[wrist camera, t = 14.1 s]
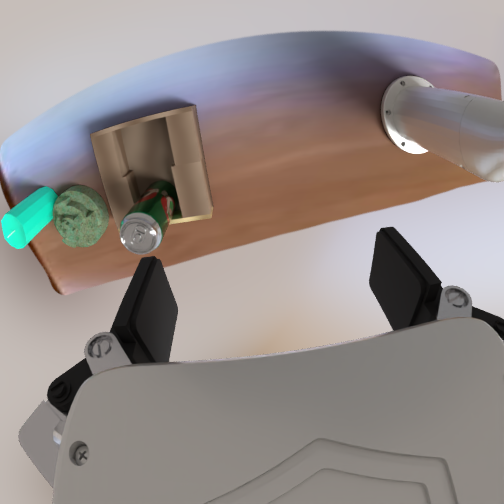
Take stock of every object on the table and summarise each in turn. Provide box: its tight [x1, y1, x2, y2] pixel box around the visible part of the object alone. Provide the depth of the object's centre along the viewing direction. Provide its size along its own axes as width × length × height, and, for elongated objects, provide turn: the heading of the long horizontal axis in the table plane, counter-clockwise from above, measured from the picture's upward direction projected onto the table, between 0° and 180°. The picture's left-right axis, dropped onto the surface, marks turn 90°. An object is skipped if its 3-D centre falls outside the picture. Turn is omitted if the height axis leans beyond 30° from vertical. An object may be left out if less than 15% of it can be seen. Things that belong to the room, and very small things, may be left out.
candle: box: [1, 186, 58, 249], centre depth 32 cm, size 6×6×12 cm
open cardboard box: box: [90, 105, 213, 233], centre depth 34 cm, size 14×15×4 cm
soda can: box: [120, 181, 179, 254], centre depth 32 cm, size 5×5×12 cm
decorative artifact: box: [53, 185, 109, 248], centre depth 36 cm, size 10×7×10 cm
